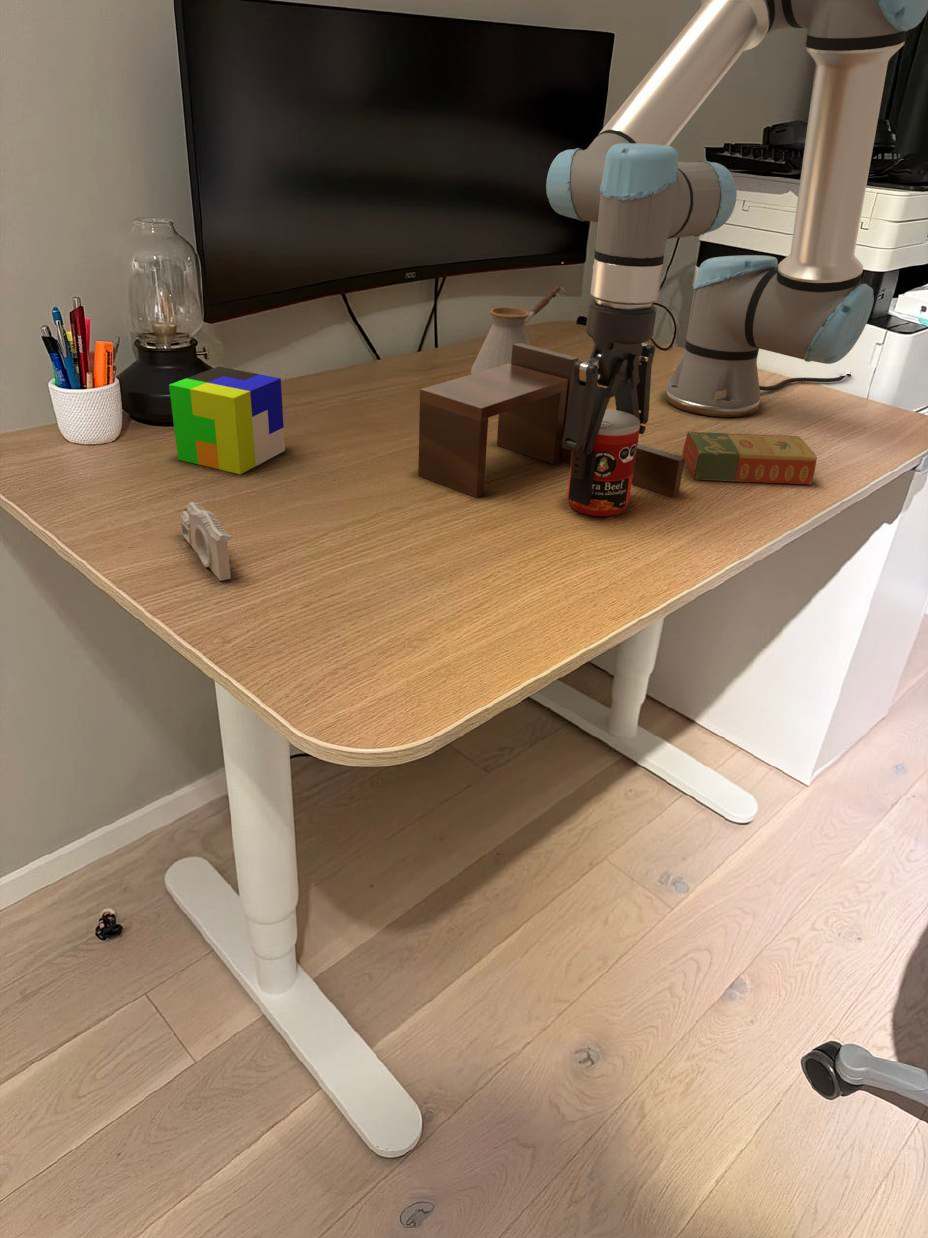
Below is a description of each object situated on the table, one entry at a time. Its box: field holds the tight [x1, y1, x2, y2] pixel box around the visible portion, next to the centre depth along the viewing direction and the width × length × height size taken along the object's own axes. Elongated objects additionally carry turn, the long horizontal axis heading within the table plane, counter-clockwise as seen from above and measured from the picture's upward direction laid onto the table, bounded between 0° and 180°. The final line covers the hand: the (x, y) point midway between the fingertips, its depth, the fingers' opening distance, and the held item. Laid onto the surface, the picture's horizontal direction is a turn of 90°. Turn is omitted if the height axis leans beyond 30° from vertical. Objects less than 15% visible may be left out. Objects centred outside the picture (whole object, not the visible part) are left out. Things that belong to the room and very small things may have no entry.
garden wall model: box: [178, 501, 232, 582], centre depth 95 cm, size 12×2×6 cm, turn 33°
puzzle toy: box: [168, 366, 286, 475], centre depth 120 cm, size 10×10×10 cm
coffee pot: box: [470, 284, 567, 375], centre depth 153 cm, size 21×12×15 cm, turn 143°
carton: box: [681, 431, 818, 485], centre depth 125 cm, size 8×16×4 cm, turn 88°
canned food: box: [567, 408, 640, 517], centre depth 111 cm, size 8×8×11 cm
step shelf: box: [417, 343, 685, 498], centre depth 115 cm, size 20×28×14 cm
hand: (599, 491), depth 113 cm, fingers closed on canned food, 8 cm apart
